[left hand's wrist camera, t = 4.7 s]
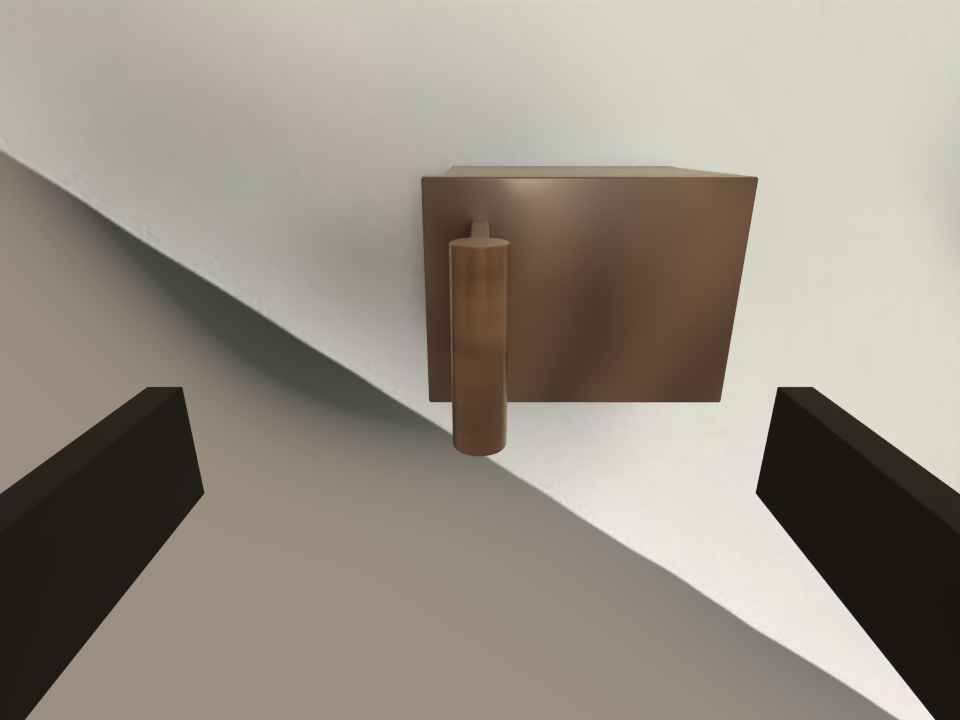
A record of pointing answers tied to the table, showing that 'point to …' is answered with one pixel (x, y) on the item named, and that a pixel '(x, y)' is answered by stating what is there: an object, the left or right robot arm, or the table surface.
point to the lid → (578, 291)
